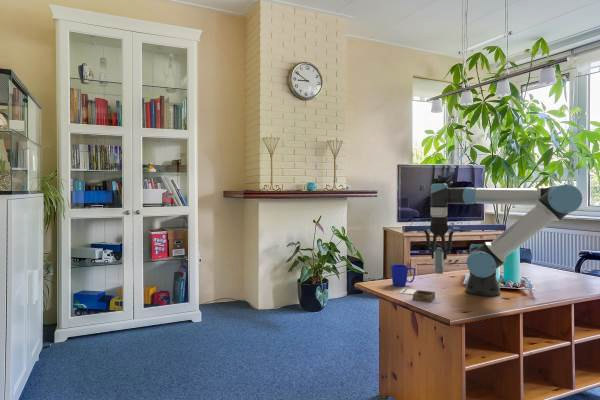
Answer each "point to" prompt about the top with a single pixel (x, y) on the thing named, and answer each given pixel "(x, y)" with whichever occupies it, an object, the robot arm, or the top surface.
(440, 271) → the marker
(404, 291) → the paper
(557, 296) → the top surface
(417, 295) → the tray
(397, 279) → the mug
